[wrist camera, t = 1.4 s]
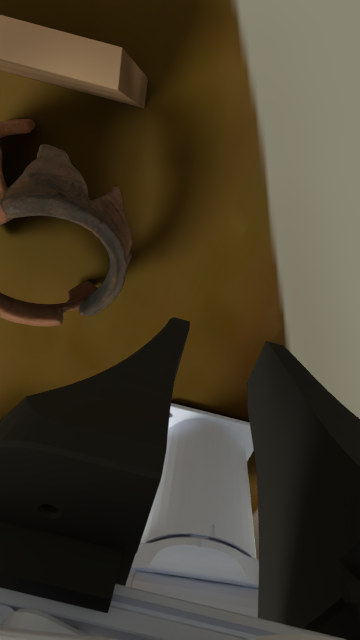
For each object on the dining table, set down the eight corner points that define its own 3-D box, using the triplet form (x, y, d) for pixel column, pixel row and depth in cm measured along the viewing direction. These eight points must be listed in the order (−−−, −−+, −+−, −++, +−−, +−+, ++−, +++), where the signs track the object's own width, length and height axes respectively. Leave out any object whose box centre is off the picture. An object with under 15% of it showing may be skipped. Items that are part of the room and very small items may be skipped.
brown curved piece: (73, 72, 15) (88, 127, 10) (139, 227, 22) (167, 304, 17) (-146, 164, 15) (-245, 264, 10) (-9, 287, 22) (-24, 381, 17)
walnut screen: (144, 108, 15) (117, 89, 11) (-74, 50, 15) (-181, 10, 11) (148, 78, 14) (122, 47, 10) (-79, 17, 14) (-194, -37, 10)
